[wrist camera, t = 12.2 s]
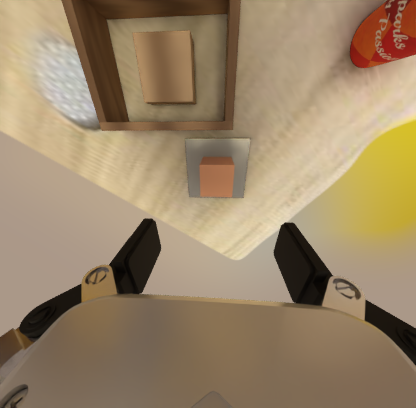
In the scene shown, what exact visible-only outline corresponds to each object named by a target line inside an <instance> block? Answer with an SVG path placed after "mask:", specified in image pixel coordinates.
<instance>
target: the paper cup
mask: <svg viewBox="0 0 416 408" xmlns="http://www.w3.org/2000/svg"><path fill="white" fill-rule="evenodd" d="M412 55H416V0H387V1H386V2H385V3H384V4H382V5H381V6H380V7H379V8H378V9H376V10H375V11H374V12H373V13H372V14H371V15H369V16H368V17H367V18H366V19H365V20H364V21H363V22H362V24H361V25H360V26H359V28H358V29H357V31H356V33H355V35H354V37H353V39H352V42H351V47H350V57H351V60H352V62H353V63H354V64H355V65H356V66H357V67H360V68H368V67H373V66H376V65H380V64H384V63H388V62H391V61H395V60H398V59H402V58H405V57H409V56H412Z"/></svg>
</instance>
